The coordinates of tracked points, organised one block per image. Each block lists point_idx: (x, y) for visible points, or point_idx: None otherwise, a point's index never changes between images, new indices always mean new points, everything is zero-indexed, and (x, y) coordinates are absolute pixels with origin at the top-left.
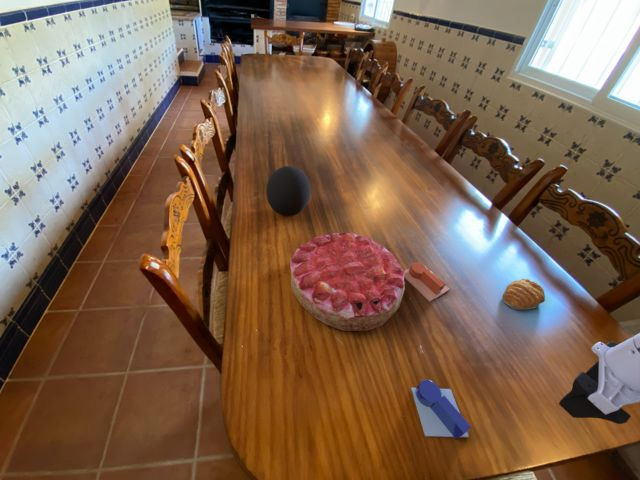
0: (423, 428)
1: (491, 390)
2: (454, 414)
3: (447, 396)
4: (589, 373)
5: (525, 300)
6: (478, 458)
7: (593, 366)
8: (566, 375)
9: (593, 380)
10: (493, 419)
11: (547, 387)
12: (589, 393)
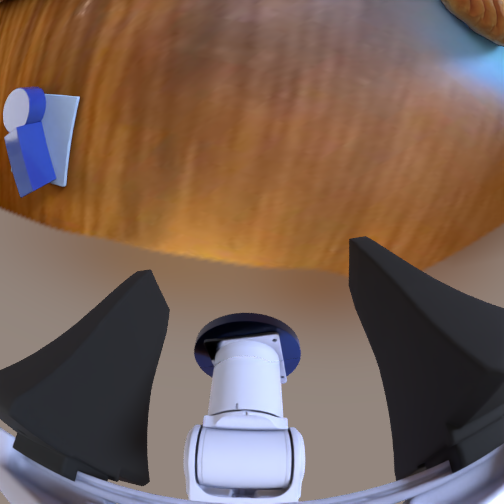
0: None
1: (176, 111)
2: (17, 164)
3: (62, 112)
4: (362, 262)
5: (477, 8)
6: (69, 215)
7: (385, 278)
8: (415, 160)
9: (53, 445)
10: (131, 168)
11: (342, 156)
12: (13, 429)
